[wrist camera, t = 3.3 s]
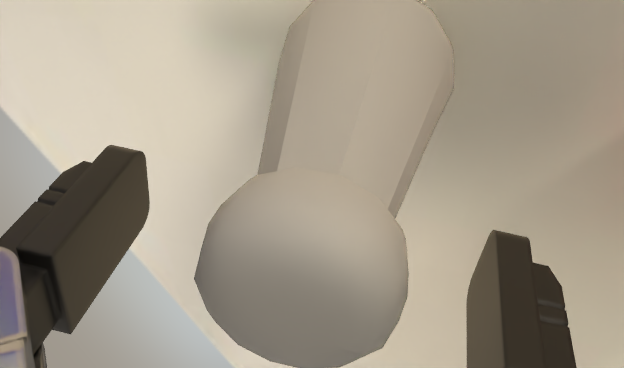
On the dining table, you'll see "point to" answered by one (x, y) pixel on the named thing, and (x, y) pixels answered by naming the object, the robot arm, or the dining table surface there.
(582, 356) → the dining table surface
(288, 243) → the salt shaker
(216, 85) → the dining table surface
